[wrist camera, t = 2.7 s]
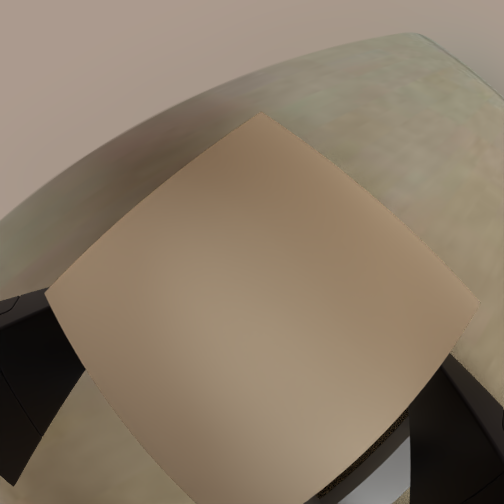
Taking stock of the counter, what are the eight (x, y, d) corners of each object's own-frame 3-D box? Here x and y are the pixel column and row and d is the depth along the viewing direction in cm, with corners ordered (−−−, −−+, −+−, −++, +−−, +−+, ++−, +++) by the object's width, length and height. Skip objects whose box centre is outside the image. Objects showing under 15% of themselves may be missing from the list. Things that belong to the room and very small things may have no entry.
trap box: (432, 586, 8) (455, 612, 4) (160, 363, 16) (125, 360, 12) (525, 490, 10) (560, 500, 6) (290, 247, 18) (294, 210, 14)
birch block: (265, 422, 13) (243, 542, 3) (195, 346, 15) (43, 293, 4) (342, 349, 14) (480, 303, 4) (271, 278, 16) (261, 112, 5)
